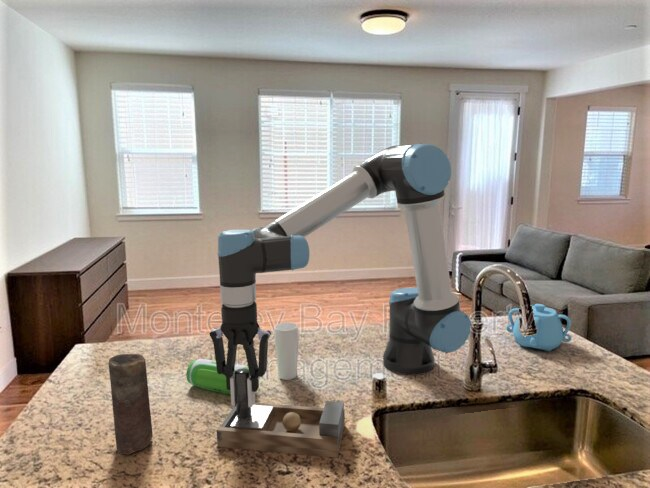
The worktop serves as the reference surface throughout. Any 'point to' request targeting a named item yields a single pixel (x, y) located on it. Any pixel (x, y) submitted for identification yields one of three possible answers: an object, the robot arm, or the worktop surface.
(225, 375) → the robot arm
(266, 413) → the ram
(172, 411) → the worktop surface
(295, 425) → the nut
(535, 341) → the decorative pot
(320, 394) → the worktop surface
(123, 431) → the candle
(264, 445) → the base
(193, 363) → the speaker
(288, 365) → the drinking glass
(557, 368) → the worktop surface
